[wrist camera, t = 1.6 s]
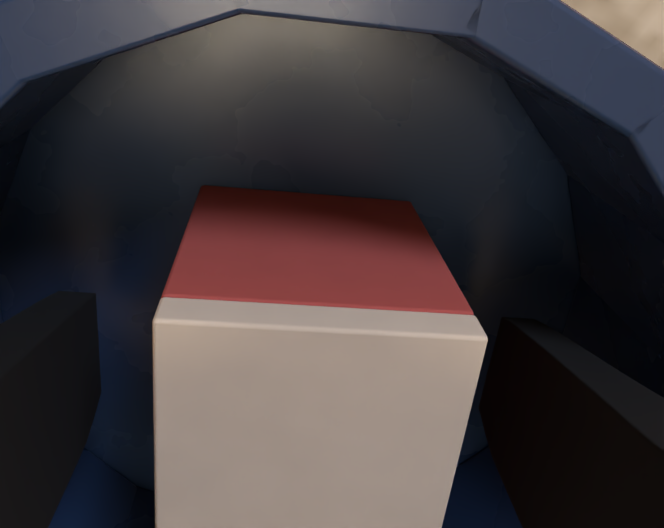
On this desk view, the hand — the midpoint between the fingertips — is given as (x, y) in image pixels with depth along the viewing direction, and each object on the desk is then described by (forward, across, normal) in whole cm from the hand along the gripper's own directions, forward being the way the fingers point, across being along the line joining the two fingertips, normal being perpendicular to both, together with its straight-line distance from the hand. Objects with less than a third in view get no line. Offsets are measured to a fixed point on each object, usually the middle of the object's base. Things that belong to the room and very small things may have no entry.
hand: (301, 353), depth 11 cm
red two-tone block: (+2, 0, 0) cm, 2 cm away
